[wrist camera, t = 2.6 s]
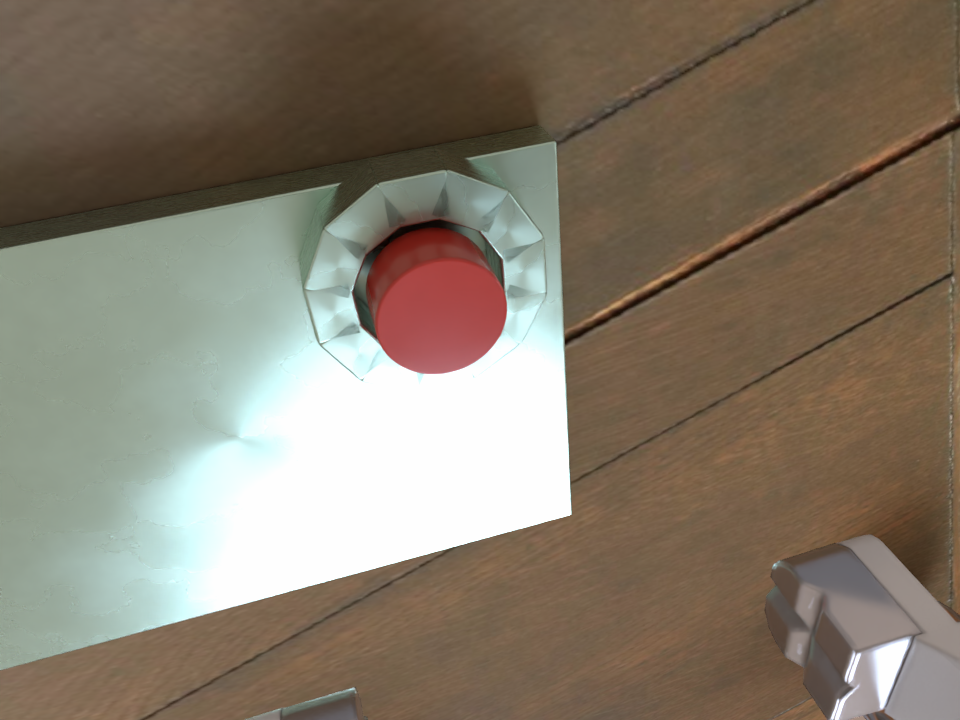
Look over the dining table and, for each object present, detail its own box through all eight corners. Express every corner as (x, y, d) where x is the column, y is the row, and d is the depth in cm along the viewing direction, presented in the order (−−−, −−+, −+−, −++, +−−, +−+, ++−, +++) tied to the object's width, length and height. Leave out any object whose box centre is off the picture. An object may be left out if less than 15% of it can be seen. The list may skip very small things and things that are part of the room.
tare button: (482, 214, 18) (502, 245, 17) (494, 323, 20) (513, 359, 19) (353, 241, 18) (363, 275, 17) (377, 350, 20) (388, 388, 18)
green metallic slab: (538, 107, 20) (578, 143, 18) (559, 489, 29) (588, 548, 26) (-299, 264, 17) (-387, 333, 15) (2, 637, 26) (-23, 719, 23)
